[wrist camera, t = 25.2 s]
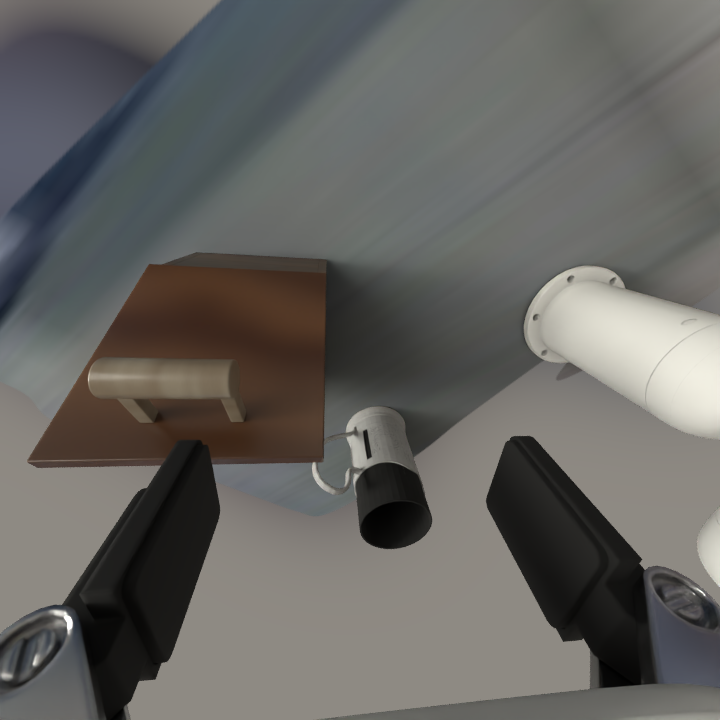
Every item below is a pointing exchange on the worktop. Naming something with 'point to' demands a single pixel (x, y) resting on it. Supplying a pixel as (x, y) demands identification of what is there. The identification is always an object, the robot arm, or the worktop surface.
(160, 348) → the lid
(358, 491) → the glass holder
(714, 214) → the worktop surface
